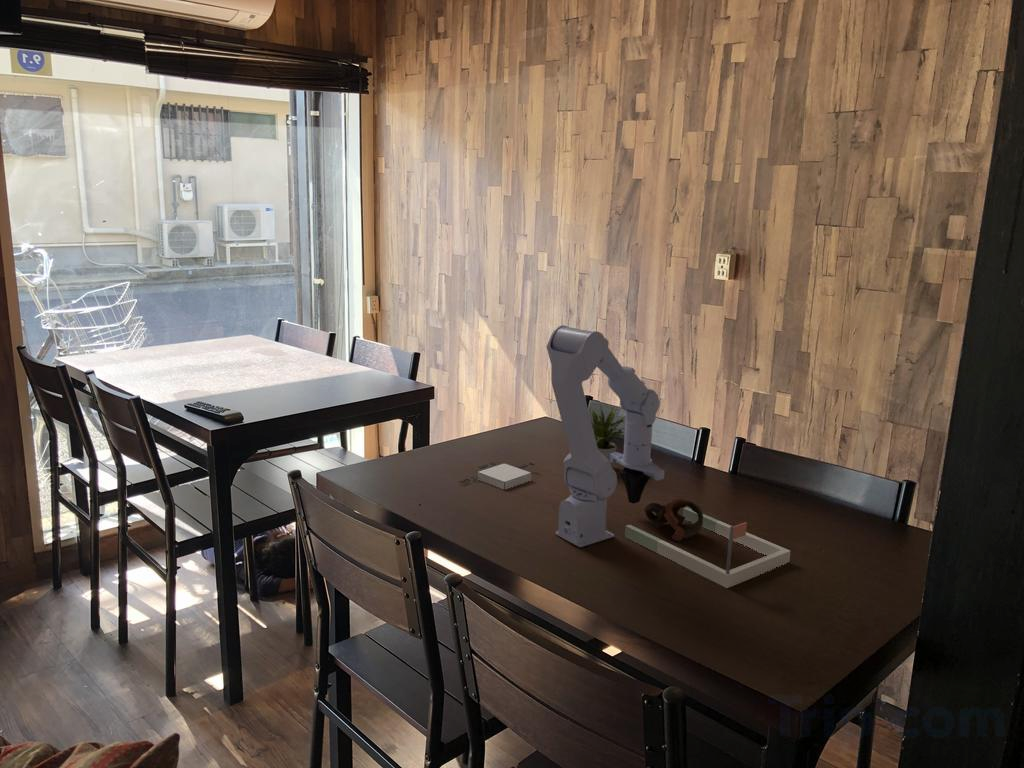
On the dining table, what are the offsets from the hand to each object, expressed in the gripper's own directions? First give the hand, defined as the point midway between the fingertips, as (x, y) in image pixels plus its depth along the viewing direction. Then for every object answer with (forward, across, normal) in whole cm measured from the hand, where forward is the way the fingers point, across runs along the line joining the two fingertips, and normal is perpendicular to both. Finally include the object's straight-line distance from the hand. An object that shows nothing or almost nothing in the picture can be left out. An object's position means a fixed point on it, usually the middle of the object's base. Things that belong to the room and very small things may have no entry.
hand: (634, 501), depth 175 cm
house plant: (+4, +26, -15) cm, 30 cm away
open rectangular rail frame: (+3, -20, 0) cm, 20 cm away
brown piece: (+4, -11, -1) cm, 11 cm away
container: (+4, +35, +11) cm, 37 cm away
